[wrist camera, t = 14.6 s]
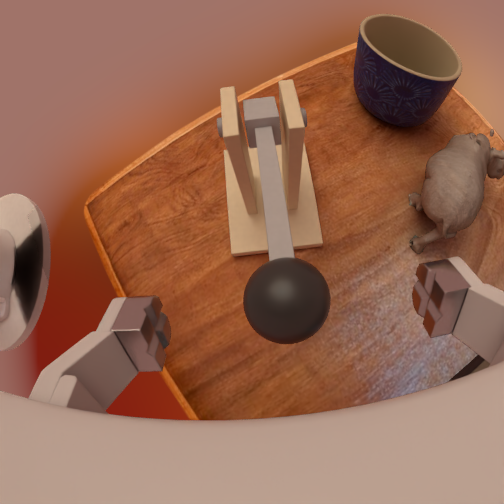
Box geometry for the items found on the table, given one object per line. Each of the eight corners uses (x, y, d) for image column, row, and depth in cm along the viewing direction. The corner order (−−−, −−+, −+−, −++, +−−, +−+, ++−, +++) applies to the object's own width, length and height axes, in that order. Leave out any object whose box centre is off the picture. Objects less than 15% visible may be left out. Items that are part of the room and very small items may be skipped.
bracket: (321, 246, 30) (351, 178, 16) (233, 256, 31) (191, 198, 17) (303, 145, 33) (309, 46, 19) (225, 155, 34) (192, 61, 20)
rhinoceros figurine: (363, 207, 28) (476, 107, 17) (403, 182, 37) (481, 114, 25) (408, 272, 27) (532, 188, 15) (436, 229, 35) (518, 167, 24)
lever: (331, 347, 13) (343, 321, 10) (251, 356, 13) (238, 333, 10) (286, 128, 22) (283, 87, 19) (239, 134, 22) (231, 94, 19)
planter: (387, 62, 36) (403, 8, 25) (447, 117, 33) (478, 67, 22) (328, 87, 35) (336, 23, 25) (393, 152, 32) (425, 93, 21)
